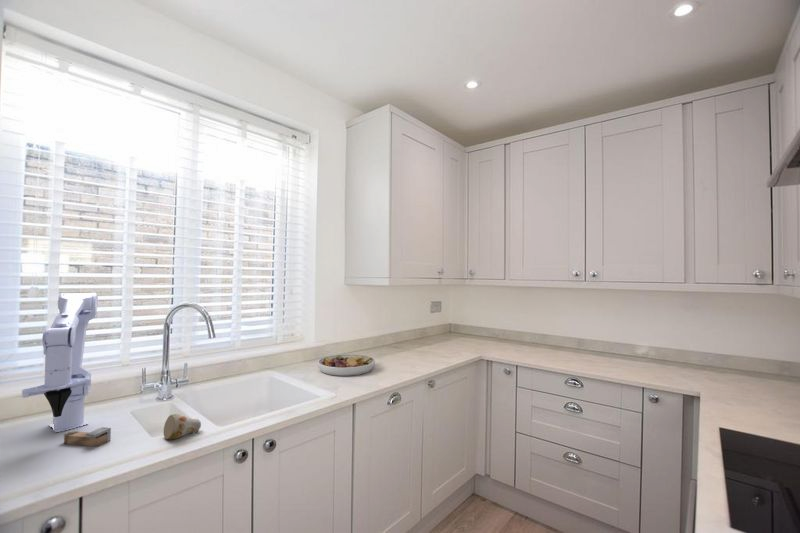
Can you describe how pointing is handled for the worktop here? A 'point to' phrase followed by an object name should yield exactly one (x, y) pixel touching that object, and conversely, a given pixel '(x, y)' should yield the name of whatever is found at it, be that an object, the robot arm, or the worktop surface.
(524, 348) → the worktop surface
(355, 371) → the bowl
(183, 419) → the grey-brown rounded piece
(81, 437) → the link
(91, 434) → the bracket
